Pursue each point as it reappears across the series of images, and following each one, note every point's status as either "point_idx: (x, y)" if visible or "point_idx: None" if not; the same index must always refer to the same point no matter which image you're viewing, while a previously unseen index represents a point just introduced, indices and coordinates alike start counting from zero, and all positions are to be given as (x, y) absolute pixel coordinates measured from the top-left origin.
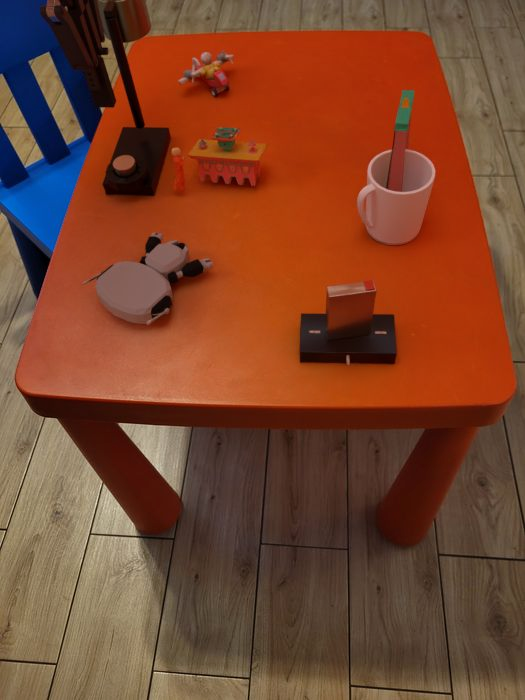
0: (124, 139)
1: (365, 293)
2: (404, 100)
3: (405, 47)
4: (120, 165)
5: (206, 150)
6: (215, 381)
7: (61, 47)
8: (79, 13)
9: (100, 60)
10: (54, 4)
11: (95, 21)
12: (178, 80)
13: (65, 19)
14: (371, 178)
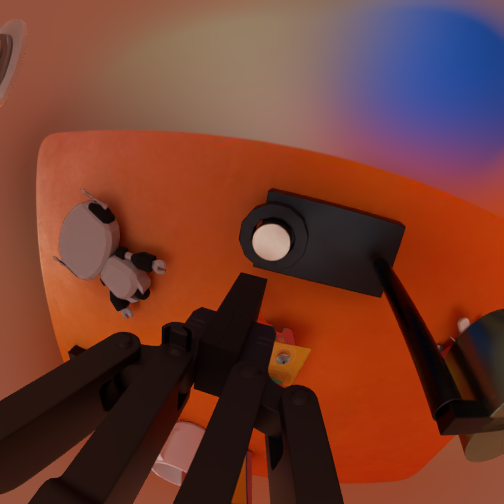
0: (373, 228)
1: None
2: None
3: (404, 473)
4: (263, 237)
5: (272, 359)
6: (54, 290)
7: (37, 380)
8: None
9: (213, 392)
10: None
11: (271, 479)
12: (465, 318)
13: None
14: (163, 463)
